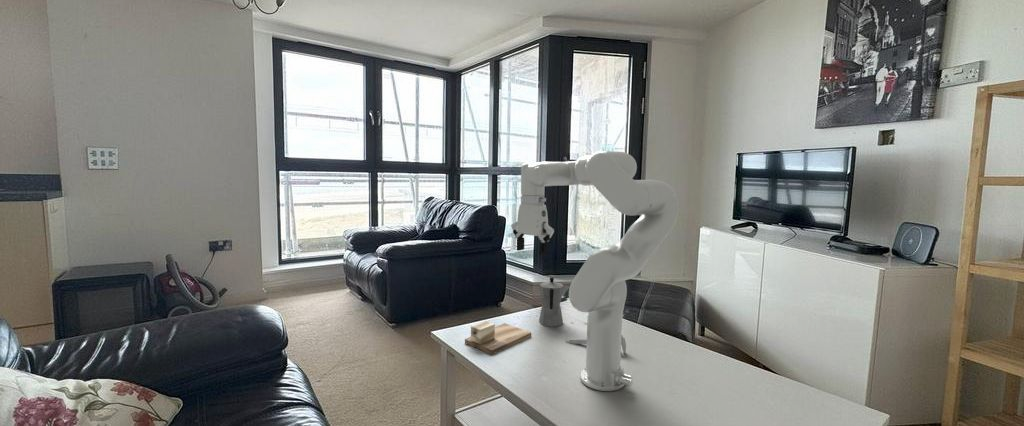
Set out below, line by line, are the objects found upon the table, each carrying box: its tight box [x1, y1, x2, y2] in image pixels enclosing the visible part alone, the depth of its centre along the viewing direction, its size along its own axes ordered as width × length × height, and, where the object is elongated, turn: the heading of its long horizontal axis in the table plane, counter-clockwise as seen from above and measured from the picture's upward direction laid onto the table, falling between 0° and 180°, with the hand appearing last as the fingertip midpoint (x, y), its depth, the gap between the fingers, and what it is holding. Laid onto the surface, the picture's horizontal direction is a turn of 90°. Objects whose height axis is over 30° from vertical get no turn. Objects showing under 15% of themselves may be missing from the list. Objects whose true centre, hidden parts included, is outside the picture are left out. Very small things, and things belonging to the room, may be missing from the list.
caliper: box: [565, 334, 627, 354], centre depth 141 cm, size 20×1×6 cm, turn 64°
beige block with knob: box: [470, 320, 496, 344], centre depth 144 cm, size 4×9×5 cm, turn 138°
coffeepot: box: [538, 276, 565, 327], centre depth 162 cm, size 15×9×18 cm, turn 175°
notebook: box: [464, 322, 532, 356], centre depth 147 cm, size 13×20×2 cm, turn 138°
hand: (531, 251), depth 139 cm, fingers open, 9 cm apart
